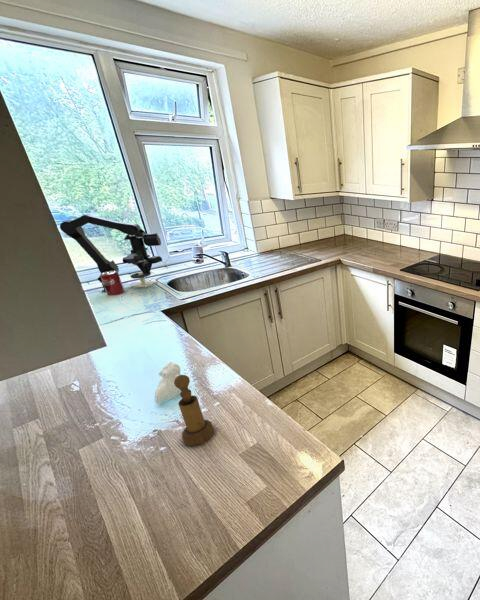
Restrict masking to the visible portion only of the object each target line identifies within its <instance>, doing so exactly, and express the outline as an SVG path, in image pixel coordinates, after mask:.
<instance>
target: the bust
mask: <svg viewBox="0 0 480 600" xmlns="http://www.w3.org/2000/svg"><path fill="white" fill-rule="evenodd" d="M180 375H182V373H181V367H180V365H179V363H174V362H173V361H171V362H169V363H168V364H166V365H164V366H163V367H162V370H161V371H160V372H158V376H159V377H161V378H160V380H159V381H158V385H157V388H156V390H155V392H154V402H155V403H156V404H157V405H162V404H164V403H165V402H167V401H168V400H172V399H175V398H177V397H178V396H180V393H181V390H180V389H179V388H177V387H176V386H175V385H174V380H175V378H176V377H178V376H180Z"/></svg>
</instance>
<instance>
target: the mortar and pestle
mask: <svg viewBox="0 0 480 600" xmlns="http://www.w3.org/2000/svg"><path fill="white" fill-rule="evenodd" d="M190 382H191V379H190V377H189V376H187V375H186V374H181V375H180V376H178V377H176V378H175V380H174V385H175V386H176V387H177V388H179V389H180V390H181V393H180V394H179V396H180V399H179V401H178V402H177V404H178V407H179V411H180V413H181V416H182V419H183V422H184V425H185V428H184V429H183V430H182V434H181V437H182V440H183V443H184V444H185V446H187V447H196V446H200V445H201V444H203V443H205V442H207V441H208V440H209V439H211V437H212V436H213V435H214V427H213V423H212V422H211V421H210V420H208V419H205V418H204V415H203V412H202V409H201V405H200V402H199V398H198V396H196V395H192V389H189V385H190Z"/></svg>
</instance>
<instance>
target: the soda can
mask: <svg viewBox="0 0 480 600" xmlns="http://www.w3.org/2000/svg"><path fill="white" fill-rule="evenodd" d="M99 276H100V277H101V279H102V282H103V285H104V287H105V290H106V292H105V293H106V296H117V295H122V294H124V293H125V292H126V291H125V287H124V285H123V283H122V279H121V277H120V274H119V272H117V271H108V272H104V273H101V272H100V274H99ZM103 285H102V286H103Z"/></svg>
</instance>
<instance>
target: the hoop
mask: <svg viewBox="0 0 480 600" xmlns="http://www.w3.org/2000/svg"><path fill="white" fill-rule="evenodd" d="M139 272H140V271H139ZM139 272H135V273H132V274H131V275H130V276H129V277H130V278H131V279H140V278H143V277H144V278H147V277H149V276H151V275H152V272H151V271H150V274H149V275H148V274H147V273H146V274H144V273H143V272H142V271H141V272H142V273H143V275H139V274H138V273H139Z"/></svg>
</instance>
